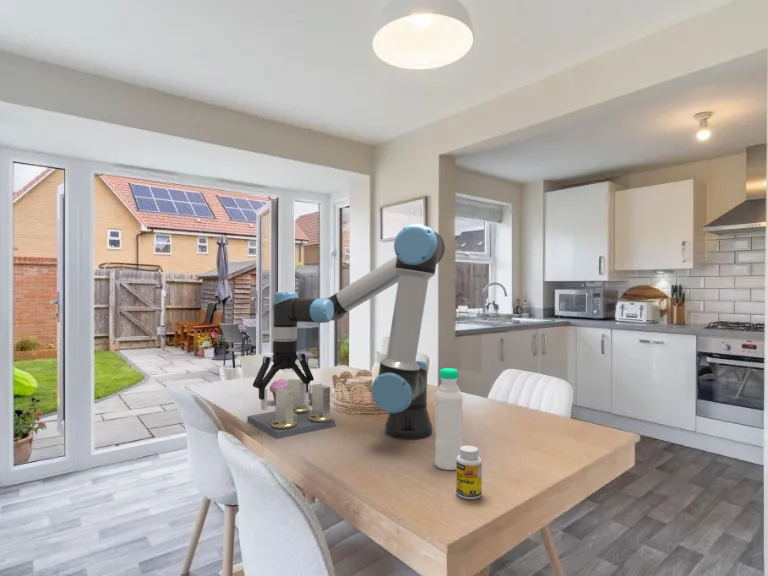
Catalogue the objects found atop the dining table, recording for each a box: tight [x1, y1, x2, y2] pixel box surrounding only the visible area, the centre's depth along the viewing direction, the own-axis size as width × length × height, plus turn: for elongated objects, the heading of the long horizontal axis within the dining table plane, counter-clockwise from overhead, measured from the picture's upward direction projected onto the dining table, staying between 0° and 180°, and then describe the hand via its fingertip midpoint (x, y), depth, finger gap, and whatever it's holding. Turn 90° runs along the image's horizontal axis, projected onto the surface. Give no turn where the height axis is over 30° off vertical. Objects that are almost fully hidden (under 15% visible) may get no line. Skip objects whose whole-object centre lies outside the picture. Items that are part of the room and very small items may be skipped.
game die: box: [308, 383, 323, 407], centre depth 178 cm, size 9×8×10 cm
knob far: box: [287, 378, 310, 414], centre depth 159 cm, size 8×8×11 cm
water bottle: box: [434, 367, 464, 471], centre depth 114 cm, size 7×7×25 cm
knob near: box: [271, 388, 297, 429], centre depth 142 cm, size 8×8×11 cm
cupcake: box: [269, 379, 289, 405], centre depth 178 cm, size 9×9×10 cm
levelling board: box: [246, 409, 336, 440], centre depth 151 cm, size 23×21×4 cm
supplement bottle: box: [455, 445, 483, 500], centre depth 98 cm, size 6×6×10 cm
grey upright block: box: [309, 383, 334, 422], centre depth 149 cm, size 8×8×11 cm
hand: (284, 406), depth 142 cm, fingers open, 13 cm apart
